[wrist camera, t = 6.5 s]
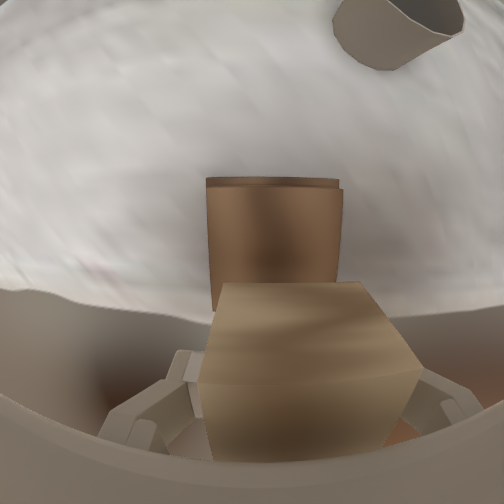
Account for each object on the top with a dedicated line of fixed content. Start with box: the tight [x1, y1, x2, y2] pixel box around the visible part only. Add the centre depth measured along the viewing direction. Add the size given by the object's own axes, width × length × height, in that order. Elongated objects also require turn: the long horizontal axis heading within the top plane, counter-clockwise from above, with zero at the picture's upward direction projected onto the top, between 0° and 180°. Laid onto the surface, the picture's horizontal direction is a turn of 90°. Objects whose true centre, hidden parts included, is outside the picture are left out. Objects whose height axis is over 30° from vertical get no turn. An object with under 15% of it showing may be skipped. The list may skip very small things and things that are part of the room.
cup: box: [332, 0, 465, 70], centre depth 13 cm, size 8×8×10 cm
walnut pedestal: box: [206, 177, 343, 312], centre depth 23 cm, size 11×11×4 cm
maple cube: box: [197, 282, 424, 462], centre depth 8 cm, size 5×5×5 cm
